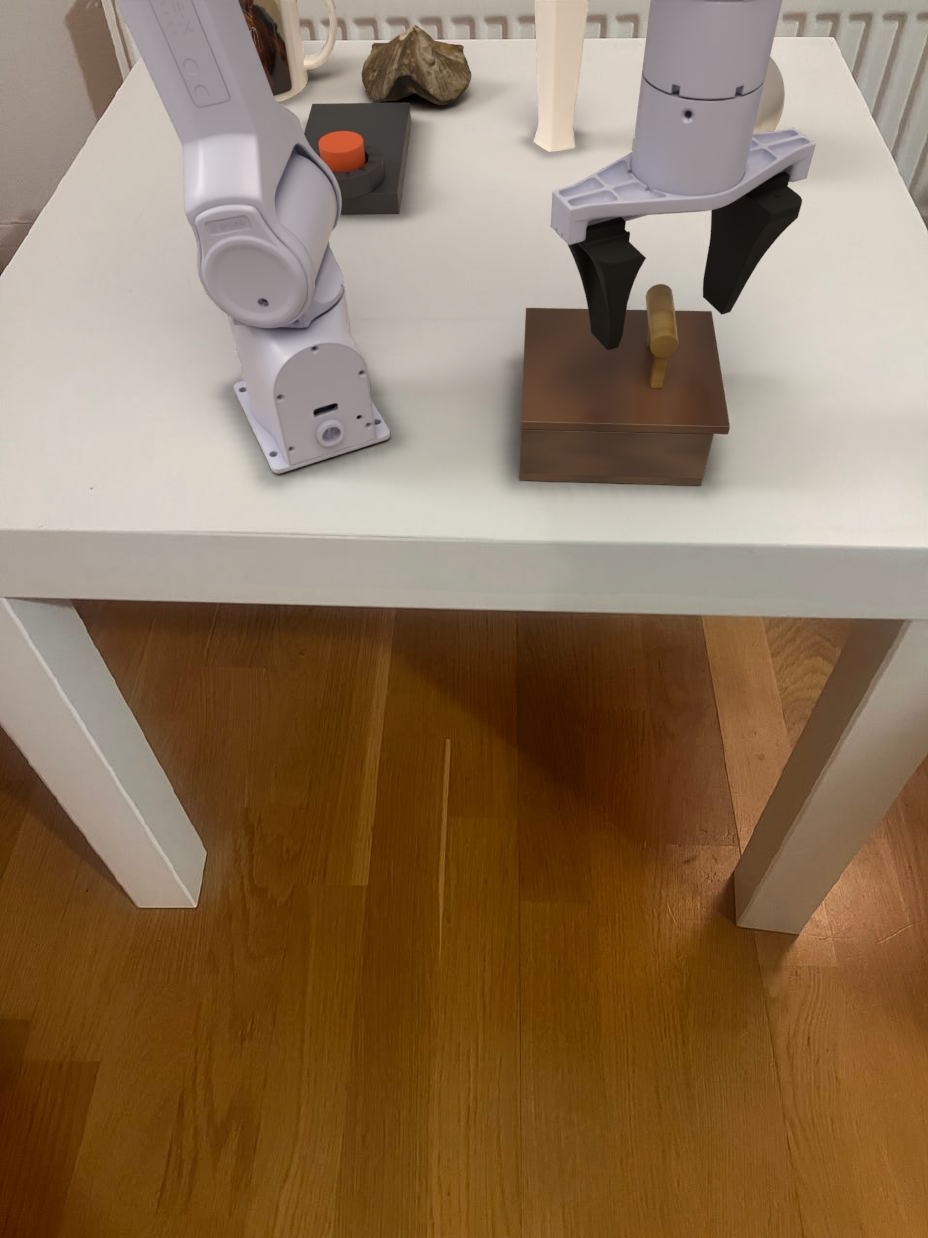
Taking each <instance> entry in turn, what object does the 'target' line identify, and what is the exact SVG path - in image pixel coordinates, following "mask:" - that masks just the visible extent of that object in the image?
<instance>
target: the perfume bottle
mask: <svg viewBox="0 0 928 1238" xmlns="http://www.w3.org/2000/svg"><path fill="white" fill-rule="evenodd" d="M589 5H590V0H534V28H535V31H534V33H535V60H536V63H535V64H536V89H537V90H536V91H537V120H538V125H537V128H536V131H535V135H534V138H533V143H534V144H536V145H537V146H539V147H540V148H542V149H543V150H545V151H547V152H549V153H553V152H559V151H566V150H571V149H575V148H576V139H575V138H576V137H575V131H574V122H575V115H576V114H575V113H576V107H577V100H578V99H577V98H578V92H579V89H578V88H579V84H580V83H579V82H580V75H581V68H582V59H583V51H584V44H585V36H586V29H587V20H588V13H589Z"/></svg>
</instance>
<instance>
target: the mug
mask: <svg viewBox="0 0 928 1238" xmlns="http://www.w3.org/2000/svg"><path fill="white" fill-rule="evenodd" d="M238 1H239V4H240V7H241V9H242V12H243V15H244V18H245V20H246V23H247V26H248V28H249V31H250V34H251V37H252V39H253V42H254V45H255V47H256V50H257V53H258V56H259V58H260V61H261V64H262V66H263V69H264V72H265V75H266V77H267V80H268V83H269V85H270V88H271V91H272V94H273V96H274V98H275V100H276V101H277V102H278V103H281V102H283V101H286V100H289V99H291V98H293V97H295V96H296V95H298V94H300V93H301V92H302V91H303V90H304V89H305V88H306V86H307V84H308V81H309V76H308V70H313V69H316V68H319V67H320V66H322V65H324V63H325V62H327V60H328V59H329V58H330V56H331V54H332V52H333V50H334V47H335V43H336V40H337V34H338V14H337V13H338V12H337V8H336V4H335V1H334V0H322V1H323V4H324V6H325V8H326V11H327V14H328V21H329V22H328V23H329V33H328V36H327V39H326V41H325V43H324V44H323V47H322V48H321V49H319V51H316V52H315V53H313V54H308V55H306V54H305V48H304V47H305V46H304V41H303V34H302V28H301V21H300V14H299V7H298V1H297V0H238Z"/></svg>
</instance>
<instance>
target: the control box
mask: <svg viewBox="0 0 928 1238" xmlns="http://www.w3.org/2000/svg"><path fill="white" fill-rule="evenodd" d="M411 127H412V114H411V103H410V102H352V103H350V102H349V103H348V102H346V103H341V102H340V103H338V102H337V103H333V102H332V103H312V104H311V108H310V111H309V114H308V118H307V121H306V125H305V129H304V131H303V132H304V135H305V137H306V139H307V141H308V143H309V145H310V146H311V148H312V149H313V150H314V152H315V153H316V154H317V155H318V156H319V157H320V151H319V140H320V139H321V138H322V137H323V136H325V135H326V134H329V133H332V132H337V131H350V132H355V133H357V134H359V135H360V136H361V137H362V138H363V142H364V152H365V164H364V165H363V166H362V167H360V168H358V169H354V170H351V171H347V172H333V174H334V176H335V178H336V180H337V182H338V185H339V188H340V193H341V199H342V208H341V214H340V216H355V215H356V216H357V215H359V216H360V215H361V216H365V215H366V216H367V215H371V216H372V215H375V216H377V215H400V213H401V212H400V211H401V205H402V204H401V203H402V198H403V197H402V196H403V188H404V183H405V182H404V180H405V174H406V173H405V172H406V166H407V165H406V164H407V158H408V152H409V151H408V150H409V142H410V135H411Z"/></svg>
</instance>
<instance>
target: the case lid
mask: <svg viewBox="0 0 928 1238" xmlns="http://www.w3.org/2000/svg"><path fill="white" fill-rule="evenodd" d="M645 305H646V309H626V315H625V323H624V329H623V335H622V338H621V341H620V344H619V346H618V347H617V348H614V349H611V350H607V349H606V348H605V347H604V346H603V345H602V344H601V343H600V342H599V341H598V340H597V338H596V337H595V336H594V335H593V334H592V333H591V325H590V317H589V311H588V308H564V307H563V308H560V307H559V308H557V307H526V308H525V319H524V340H523V341H524V342H523V364H522V367H523V368H522V386H521V387H522V388H521V411H520V430H521V429H541V430H579V431H617V432H655V433H693V434H714V435H728V434H729V432H730V428H731V425H730V419H729V413H728V408H727V407H728V405H727V400H726V392H725V388H724V387H725V386H724V381H723V380H724V379H723V375H722V368H721V367H722V366H721V361H720V355H719V348H718V343H717V336H716V330H715V324H714V318H713V312H712V311H711V310H676V309H675V302H674V293H673V290H672V288H671V287H670V286H669V285H667V284H664V283H658V284H655V285H652V286H650V288H649V289H648V290H647V291H646V294H645Z"/></svg>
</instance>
